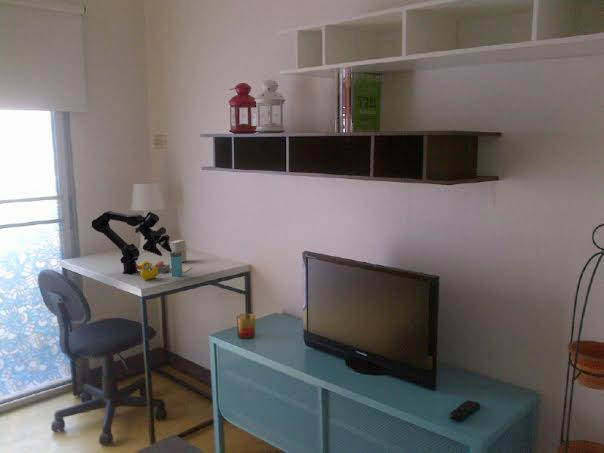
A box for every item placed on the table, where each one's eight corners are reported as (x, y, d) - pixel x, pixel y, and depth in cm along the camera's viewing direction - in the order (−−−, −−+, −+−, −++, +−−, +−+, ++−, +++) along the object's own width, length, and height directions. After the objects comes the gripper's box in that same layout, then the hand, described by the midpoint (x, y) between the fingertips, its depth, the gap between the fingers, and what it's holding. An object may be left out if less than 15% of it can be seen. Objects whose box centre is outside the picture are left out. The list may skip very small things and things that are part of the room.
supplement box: (181, 260, 337) (180, 239, 335) (186, 261, 334) (185, 240, 332) (170, 263, 330) (169, 241, 328) (176, 264, 327) (175, 242, 325)
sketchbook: (167, 271, 309) (166, 271, 309) (174, 267, 319) (174, 266, 319) (185, 272, 307) (185, 271, 307) (192, 267, 317) (192, 267, 317)
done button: (154, 268, 309) (154, 262, 309) (158, 266, 313) (157, 260, 313) (162, 268, 308) (161, 262, 308) (165, 266, 313) (164, 260, 312)
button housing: (150, 272, 308) (150, 267, 308) (156, 269, 316) (156, 264, 315) (163, 273, 307) (163, 267, 306) (169, 269, 314) (169, 264, 314)
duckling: (139, 282, 289) (137, 263, 287) (135, 280, 293) (134, 261, 292) (160, 278, 295) (158, 260, 293) (156, 276, 299) (155, 258, 298)
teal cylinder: (171, 276, 299) (170, 253, 297) (176, 274, 303) (174, 251, 300) (178, 277, 297) (177, 253, 295) (182, 275, 301) (181, 251, 299)
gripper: (145, 226, 290) (165, 247, 288) (165, 220, 308) (184, 240, 306) (134, 240, 294) (153, 261, 292) (154, 233, 312) (173, 253, 310)
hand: (166, 253), depth 300 cm, fingers open, 9 cm apart
